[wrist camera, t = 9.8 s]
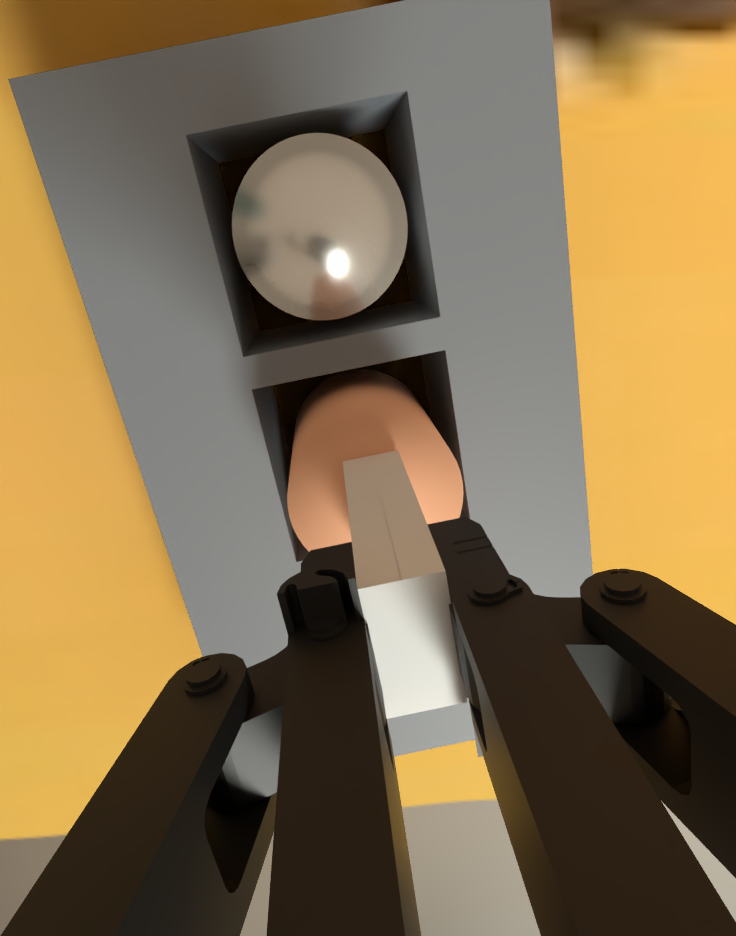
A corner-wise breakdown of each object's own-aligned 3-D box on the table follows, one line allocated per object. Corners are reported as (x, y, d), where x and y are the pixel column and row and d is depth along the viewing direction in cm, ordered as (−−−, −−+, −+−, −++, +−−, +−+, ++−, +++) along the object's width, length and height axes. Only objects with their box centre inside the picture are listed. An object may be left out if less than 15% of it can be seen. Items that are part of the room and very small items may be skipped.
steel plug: (271, 313, 24) (256, 335, 18) (238, 177, 22) (210, 152, 16) (395, 288, 24) (420, 302, 18) (371, 150, 22) (391, 116, 16)
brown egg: (310, 507, 24) (308, 593, 18) (281, 384, 22) (268, 434, 16) (435, 482, 24) (474, 558, 18) (414, 357, 22) (449, 396, 16)
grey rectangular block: (260, 684, 30) (247, 787, 24) (88, 122, 22) (8, 79, 16) (548, 624, 30) (602, 712, 24) (487, 43, 22) (547, -29, 16)
